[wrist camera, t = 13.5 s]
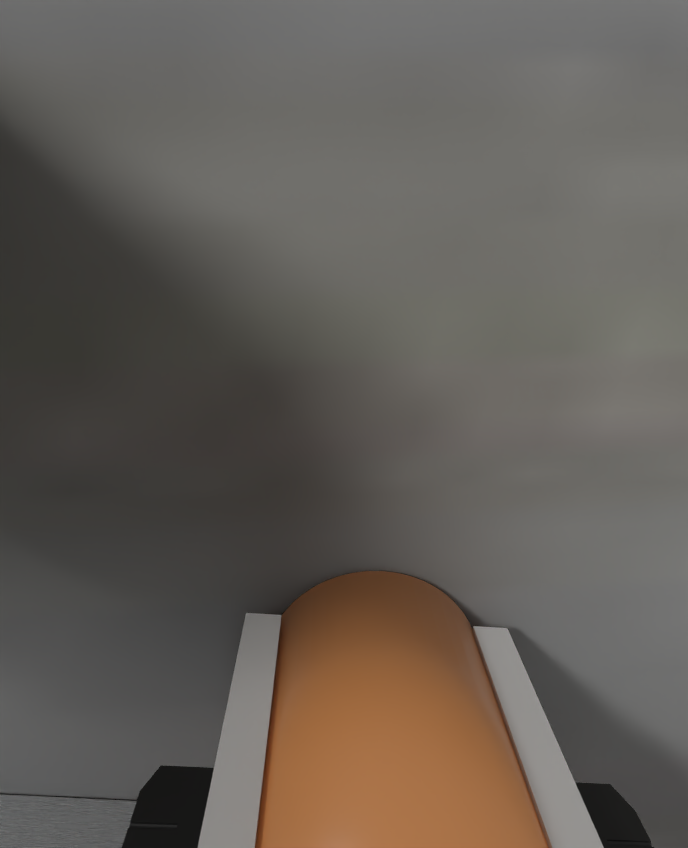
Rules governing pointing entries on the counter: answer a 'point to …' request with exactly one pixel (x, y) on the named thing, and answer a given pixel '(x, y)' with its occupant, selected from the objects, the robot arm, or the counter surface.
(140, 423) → the counter surface
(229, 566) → the counter surface
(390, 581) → the cap
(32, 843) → the panel
